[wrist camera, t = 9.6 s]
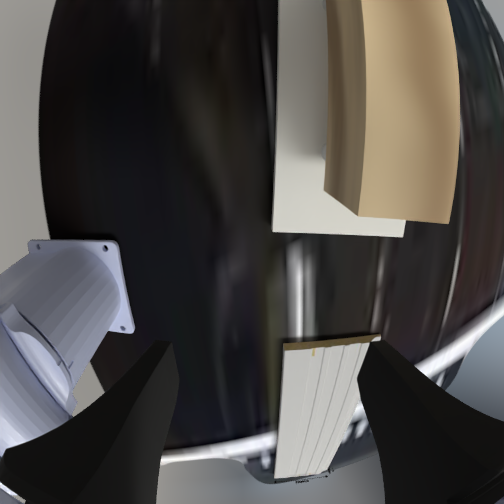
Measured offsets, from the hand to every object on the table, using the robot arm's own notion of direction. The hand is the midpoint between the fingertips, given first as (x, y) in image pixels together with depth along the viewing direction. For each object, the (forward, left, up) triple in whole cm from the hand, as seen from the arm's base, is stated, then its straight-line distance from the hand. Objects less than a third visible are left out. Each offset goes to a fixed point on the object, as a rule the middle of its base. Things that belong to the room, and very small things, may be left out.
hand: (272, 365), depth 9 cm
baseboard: (+8, -22, -11) cm, 26 cm away
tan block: (+5, +12, -7) cm, 15 cm away
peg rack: (+5, +12, -10) cm, 16 cm away
